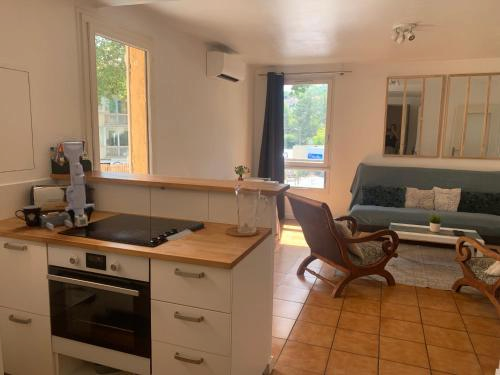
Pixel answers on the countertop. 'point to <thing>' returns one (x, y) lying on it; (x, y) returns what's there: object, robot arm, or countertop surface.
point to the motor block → (53, 219)
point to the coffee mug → (31, 215)
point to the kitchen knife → (185, 232)
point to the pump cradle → (53, 226)
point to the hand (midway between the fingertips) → (81, 222)
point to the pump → (81, 220)
